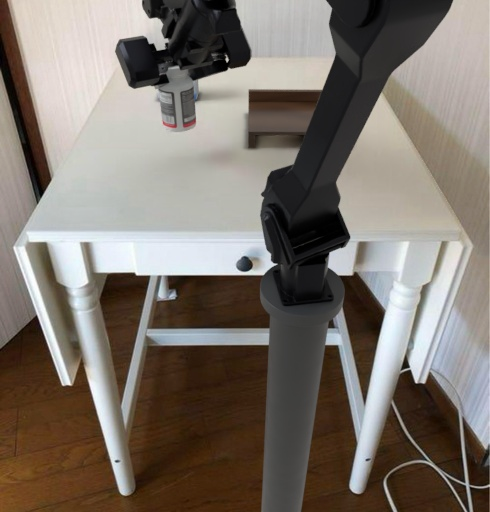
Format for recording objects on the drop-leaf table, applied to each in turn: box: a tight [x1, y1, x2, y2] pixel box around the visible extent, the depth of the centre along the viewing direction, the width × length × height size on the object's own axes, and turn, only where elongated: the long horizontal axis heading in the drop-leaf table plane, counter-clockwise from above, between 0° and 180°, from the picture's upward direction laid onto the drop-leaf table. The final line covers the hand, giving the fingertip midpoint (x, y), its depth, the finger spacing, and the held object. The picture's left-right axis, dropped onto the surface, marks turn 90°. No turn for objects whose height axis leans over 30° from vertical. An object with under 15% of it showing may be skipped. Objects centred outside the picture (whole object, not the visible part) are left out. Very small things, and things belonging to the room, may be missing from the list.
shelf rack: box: [247, 88, 322, 149], centre depth 93 cm, size 14×14×5 cm
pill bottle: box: [158, 67, 197, 133], centre depth 80 cm, size 5×5×10 cm
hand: (172, 82), depth 80 cm, fingers closed on pill bottle, 5 cm apart
